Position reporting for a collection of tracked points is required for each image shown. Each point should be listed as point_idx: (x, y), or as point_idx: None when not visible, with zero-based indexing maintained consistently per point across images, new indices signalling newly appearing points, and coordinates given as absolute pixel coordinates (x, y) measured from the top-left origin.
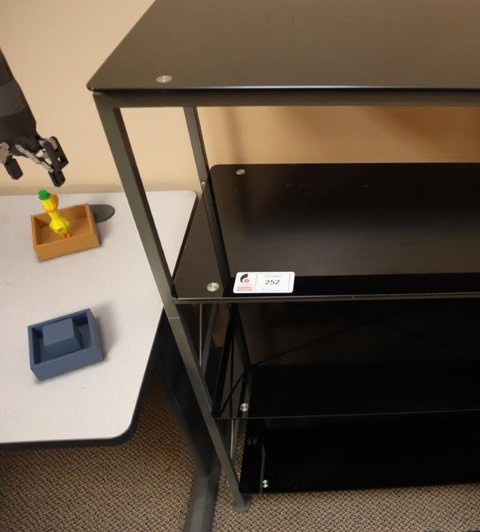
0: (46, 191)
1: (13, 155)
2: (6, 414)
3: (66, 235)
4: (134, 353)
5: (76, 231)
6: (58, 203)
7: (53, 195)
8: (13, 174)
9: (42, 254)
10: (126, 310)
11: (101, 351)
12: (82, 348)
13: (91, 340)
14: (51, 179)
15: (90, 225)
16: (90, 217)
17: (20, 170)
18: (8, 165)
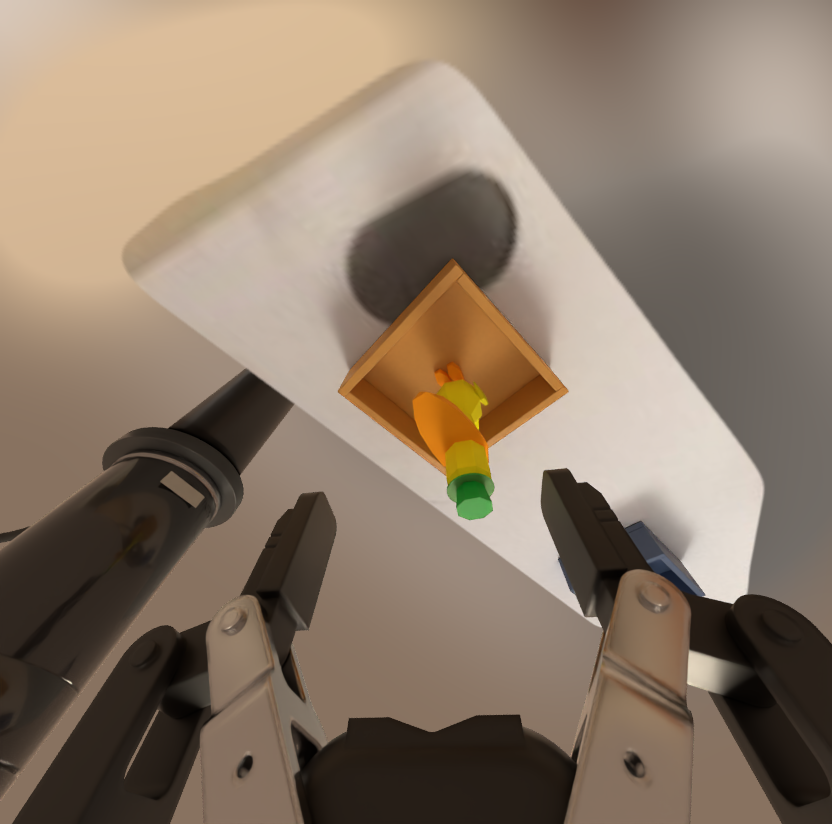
0: (487, 502)
1: (263, 617)
2: (584, 617)
3: (449, 377)
4: (730, 546)
5: (462, 353)
6: (476, 427)
7: (434, 409)
8: (327, 556)
9: None
10: (692, 494)
11: (677, 559)
12: (652, 569)
13: (693, 590)
14: (562, 557)
15: (539, 367)
16: (516, 334)
17: (313, 515)
18: (309, 621)
